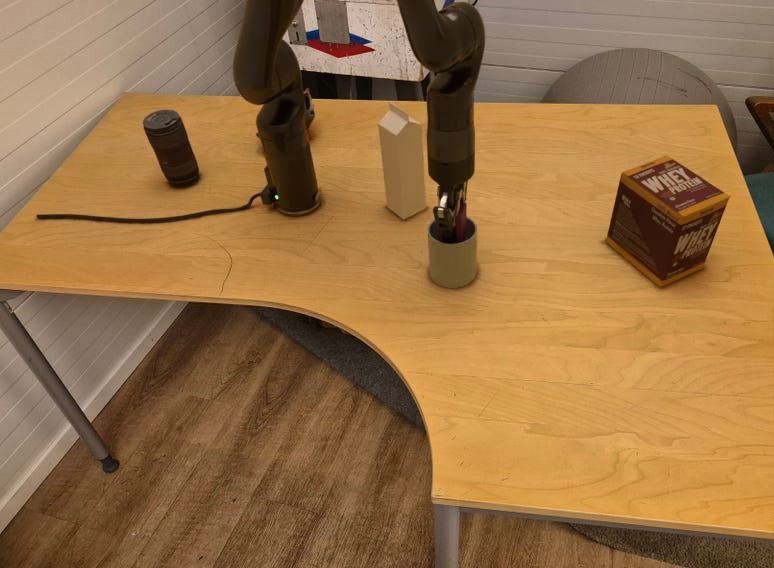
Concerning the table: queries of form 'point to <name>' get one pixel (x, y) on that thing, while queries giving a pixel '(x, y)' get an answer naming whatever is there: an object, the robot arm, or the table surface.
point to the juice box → (458, 225)
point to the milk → (402, 162)
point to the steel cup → (453, 257)
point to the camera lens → (172, 147)
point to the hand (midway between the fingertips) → (452, 234)
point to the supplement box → (665, 219)
